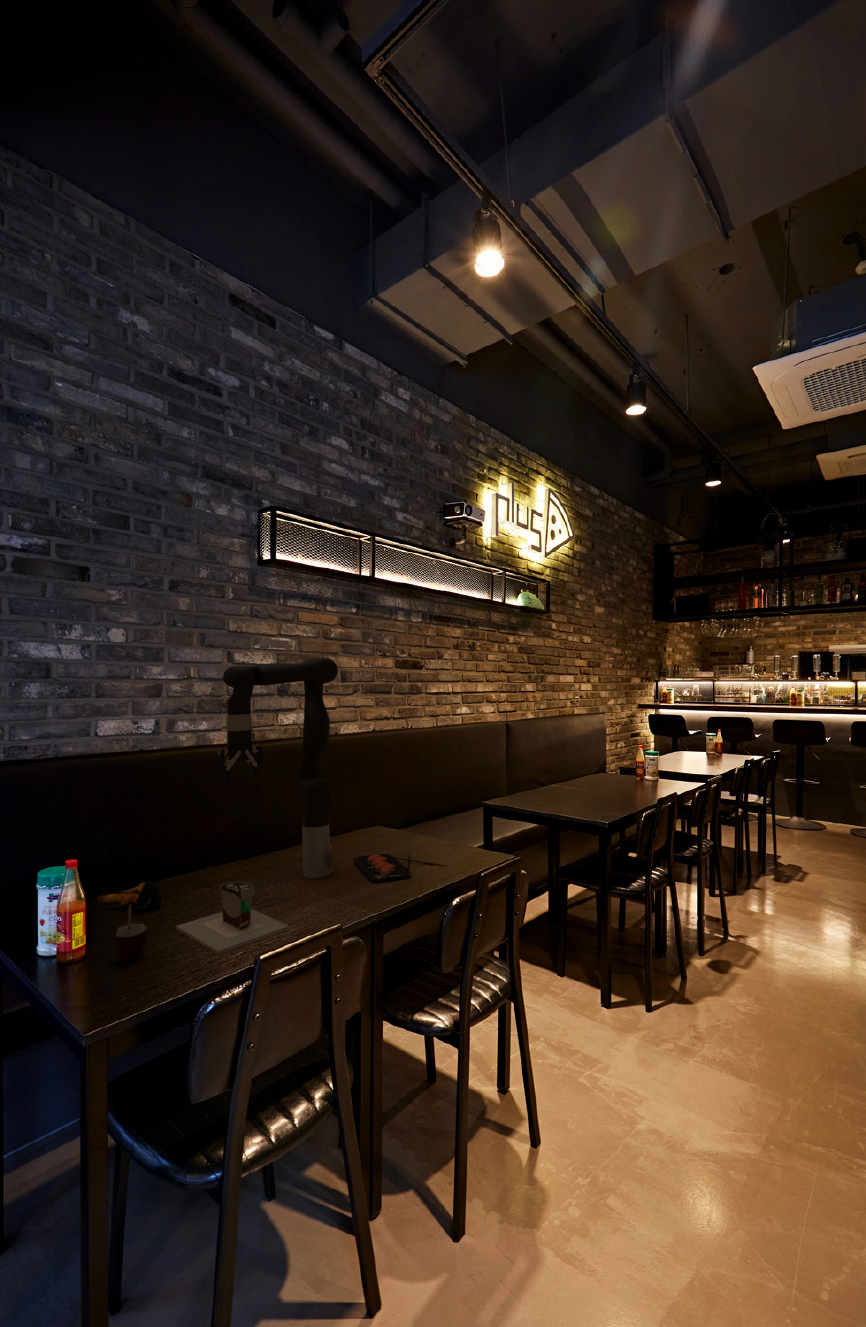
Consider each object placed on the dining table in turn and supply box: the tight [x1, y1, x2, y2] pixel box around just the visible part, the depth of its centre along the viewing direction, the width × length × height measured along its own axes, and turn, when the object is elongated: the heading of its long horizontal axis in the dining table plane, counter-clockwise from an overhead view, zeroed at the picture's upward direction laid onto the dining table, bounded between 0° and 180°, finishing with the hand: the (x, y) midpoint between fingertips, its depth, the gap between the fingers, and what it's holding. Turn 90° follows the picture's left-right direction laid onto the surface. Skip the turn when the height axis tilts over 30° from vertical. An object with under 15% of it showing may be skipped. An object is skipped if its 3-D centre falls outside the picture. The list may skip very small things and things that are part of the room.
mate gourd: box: [114, 904, 148, 965], centre depth 148 cm, size 8×8×15 cm
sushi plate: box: [353, 853, 447, 882], centre depth 217 cm, size 29×30×4 cm
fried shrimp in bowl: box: [97, 879, 163, 912], centre depth 182 cm, size 9×11×18 cm
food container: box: [219, 880, 255, 930], centre depth 166 cm, size 12×6×10 cm, turn 46°
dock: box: [175, 908, 290, 956], centre depth 164 cm, size 20×24×1 cm
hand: (240, 780), depth 191 cm, fingers open, 8 cm apart
